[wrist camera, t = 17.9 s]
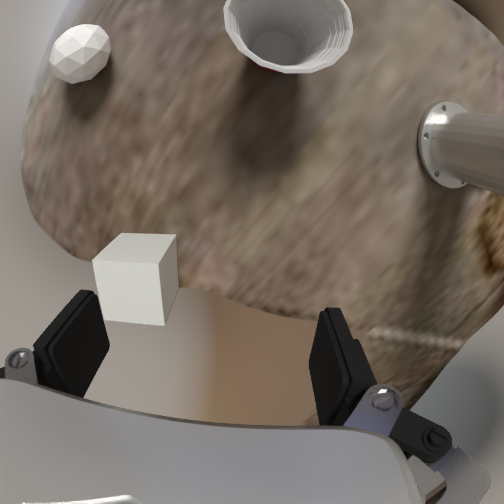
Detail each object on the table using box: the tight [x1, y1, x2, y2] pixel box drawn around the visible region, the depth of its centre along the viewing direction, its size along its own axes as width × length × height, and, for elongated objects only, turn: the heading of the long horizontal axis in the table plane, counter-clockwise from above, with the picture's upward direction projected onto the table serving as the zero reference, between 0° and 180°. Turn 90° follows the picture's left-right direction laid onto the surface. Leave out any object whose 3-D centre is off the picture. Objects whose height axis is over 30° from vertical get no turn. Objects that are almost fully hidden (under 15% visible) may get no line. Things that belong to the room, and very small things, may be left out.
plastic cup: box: [223, 0, 353, 73], centre depth 22 cm, size 11×11×12 cm
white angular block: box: [92, 233, 179, 326], centre depth 34 cm, size 8×8×9 cm
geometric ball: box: [49, 24, 112, 84], centre depth 23 cm, size 8×8×8 cm
